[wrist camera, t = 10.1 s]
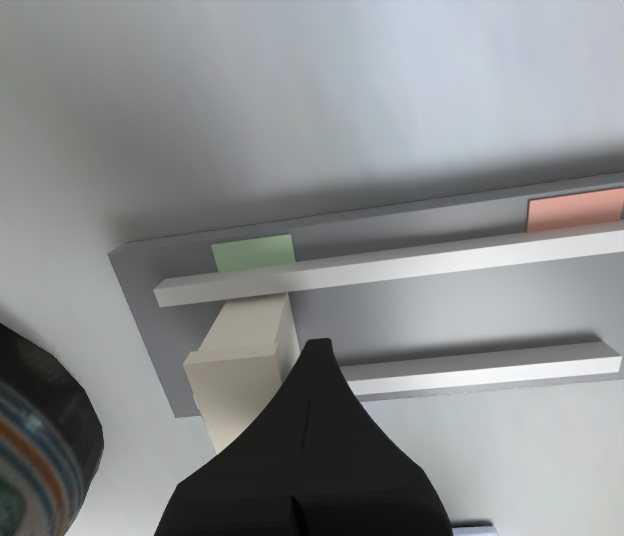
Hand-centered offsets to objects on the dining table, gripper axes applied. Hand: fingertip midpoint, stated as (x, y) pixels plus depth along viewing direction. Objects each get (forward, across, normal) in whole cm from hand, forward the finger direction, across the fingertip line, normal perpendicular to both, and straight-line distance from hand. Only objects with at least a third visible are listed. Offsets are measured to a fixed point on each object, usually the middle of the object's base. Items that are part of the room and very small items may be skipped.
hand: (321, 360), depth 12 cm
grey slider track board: (+4, -4, 0) cm, 5 cm away
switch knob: (+2, +2, 0) cm, 3 cm away
